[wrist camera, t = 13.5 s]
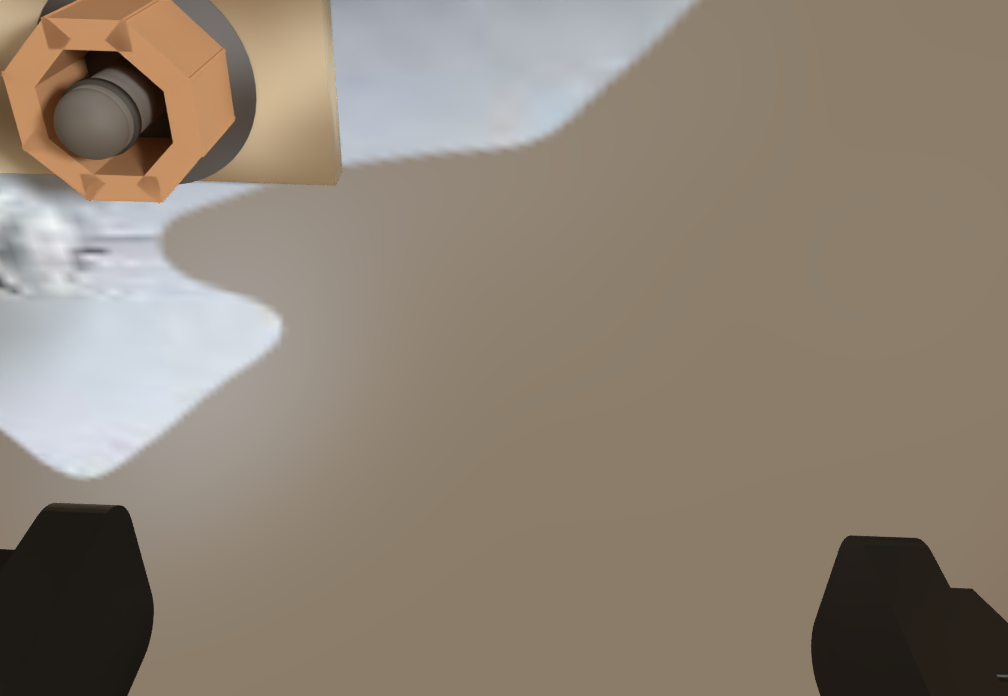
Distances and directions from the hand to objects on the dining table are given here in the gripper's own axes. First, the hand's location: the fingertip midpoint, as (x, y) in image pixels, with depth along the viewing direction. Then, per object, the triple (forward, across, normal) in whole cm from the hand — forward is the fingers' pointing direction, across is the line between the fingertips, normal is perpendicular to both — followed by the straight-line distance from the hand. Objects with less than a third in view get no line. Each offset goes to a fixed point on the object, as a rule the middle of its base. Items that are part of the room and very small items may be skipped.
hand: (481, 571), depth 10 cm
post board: (+28, +14, -2) cm, 31 cm away
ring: (+26, +14, +2) cm, 30 cm away
